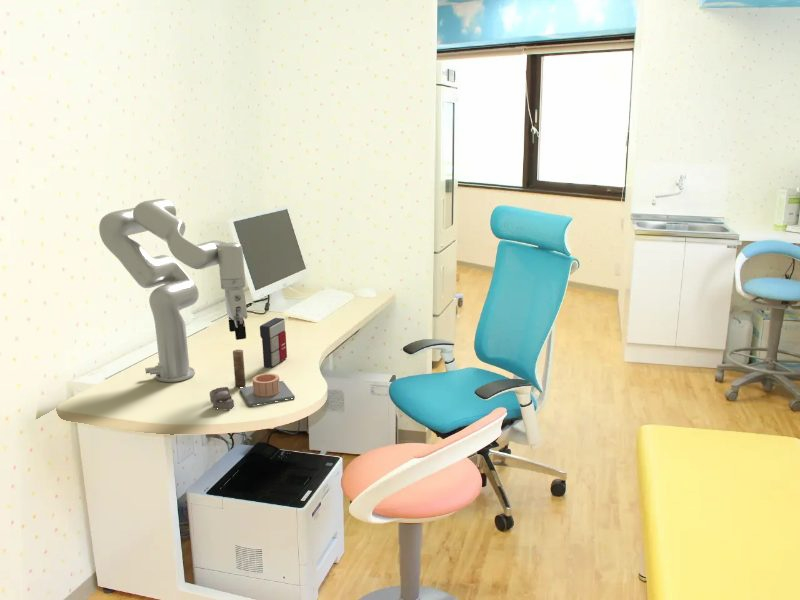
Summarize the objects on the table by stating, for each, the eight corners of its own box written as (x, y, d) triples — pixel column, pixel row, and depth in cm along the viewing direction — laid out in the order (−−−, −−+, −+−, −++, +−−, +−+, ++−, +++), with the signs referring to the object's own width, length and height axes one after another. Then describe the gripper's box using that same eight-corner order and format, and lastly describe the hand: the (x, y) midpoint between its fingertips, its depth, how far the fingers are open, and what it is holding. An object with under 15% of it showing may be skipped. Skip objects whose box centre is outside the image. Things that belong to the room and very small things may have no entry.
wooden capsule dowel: (236, 388, 228) (233, 353, 225) (234, 385, 231) (231, 350, 228) (246, 387, 229) (243, 351, 226) (244, 383, 232) (241, 349, 229)
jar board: (249, 406, 214) (248, 389, 212) (240, 390, 226) (238, 374, 225) (294, 398, 219) (293, 381, 218) (282, 383, 232) (281, 367, 230)
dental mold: (211, 402, 218) (209, 387, 217) (234, 399, 219) (232, 384, 218) (210, 412, 210) (209, 396, 209) (234, 410, 212) (233, 394, 211)
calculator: (273, 368, 246) (270, 327, 242) (262, 367, 247) (259, 325, 243) (288, 358, 256) (286, 318, 252) (278, 357, 257) (275, 317, 253)
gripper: (251, 286, 215) (255, 340, 219) (239, 276, 230) (243, 326, 235) (226, 289, 212) (231, 344, 216) (215, 278, 227) (220, 329, 232)
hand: (237, 334), depth 225 cm, fingers open, 9 cm apart
